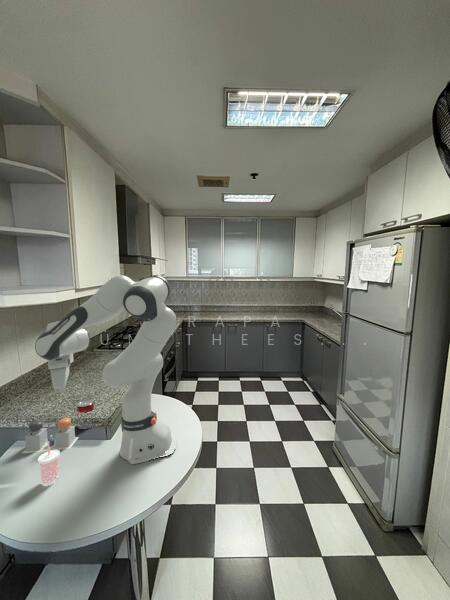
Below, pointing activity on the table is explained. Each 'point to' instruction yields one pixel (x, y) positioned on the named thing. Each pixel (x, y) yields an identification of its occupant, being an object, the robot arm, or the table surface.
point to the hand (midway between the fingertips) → (63, 392)
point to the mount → (40, 440)
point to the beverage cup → (49, 466)
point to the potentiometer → (51, 441)
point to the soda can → (85, 406)
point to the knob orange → (64, 424)
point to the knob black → (35, 426)
